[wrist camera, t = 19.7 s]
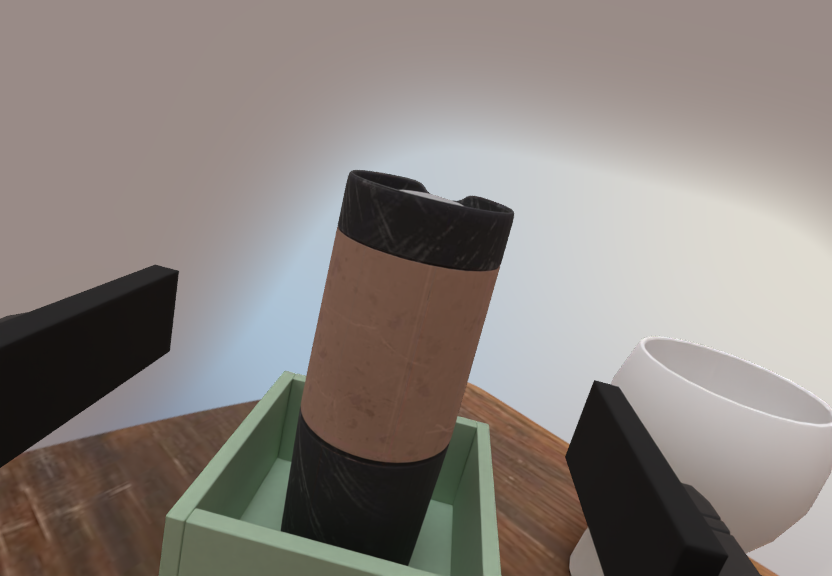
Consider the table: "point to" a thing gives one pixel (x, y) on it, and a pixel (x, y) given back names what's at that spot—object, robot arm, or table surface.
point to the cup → (727, 437)
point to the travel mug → (390, 361)
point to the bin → (307, 559)
